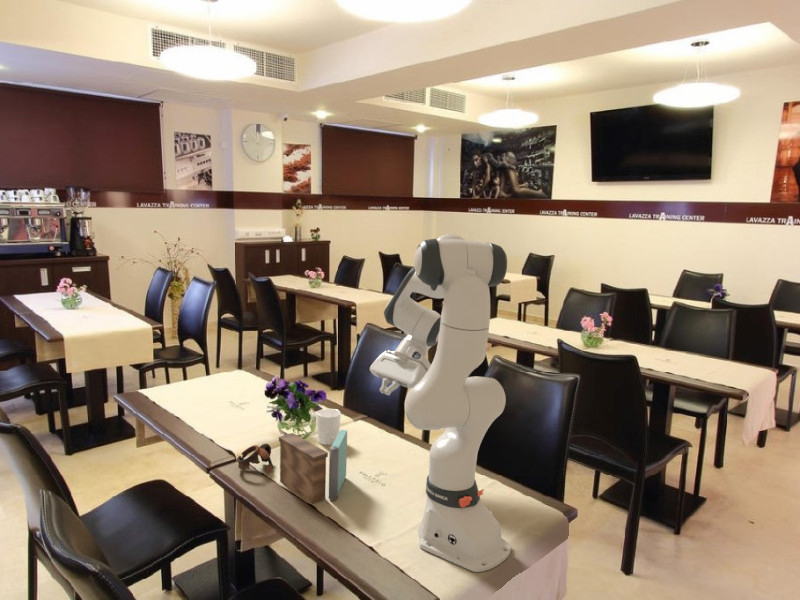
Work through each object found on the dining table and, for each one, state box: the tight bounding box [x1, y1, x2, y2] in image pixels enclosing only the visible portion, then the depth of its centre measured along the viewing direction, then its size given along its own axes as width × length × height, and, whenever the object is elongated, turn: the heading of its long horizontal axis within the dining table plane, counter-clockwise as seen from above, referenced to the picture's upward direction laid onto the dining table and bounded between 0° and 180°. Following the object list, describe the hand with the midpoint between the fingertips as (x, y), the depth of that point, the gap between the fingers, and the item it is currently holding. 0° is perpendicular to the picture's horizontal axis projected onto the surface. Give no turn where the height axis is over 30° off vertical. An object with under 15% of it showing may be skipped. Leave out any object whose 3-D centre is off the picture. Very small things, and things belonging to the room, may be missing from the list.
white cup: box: [316, 408, 342, 446], centre depth 185 cm, size 8×8×10 cm
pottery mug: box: [236, 443, 274, 475], centre depth 164 cm, size 12×10×8 cm
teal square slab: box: [328, 429, 348, 501], centre depth 153 cm, size 14×2×14 cm, turn 174°
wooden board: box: [278, 432, 329, 504], centre depth 152 cm, size 17×5×13 cm, turn 44°
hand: (383, 393), depth 165 cm, fingers closed
